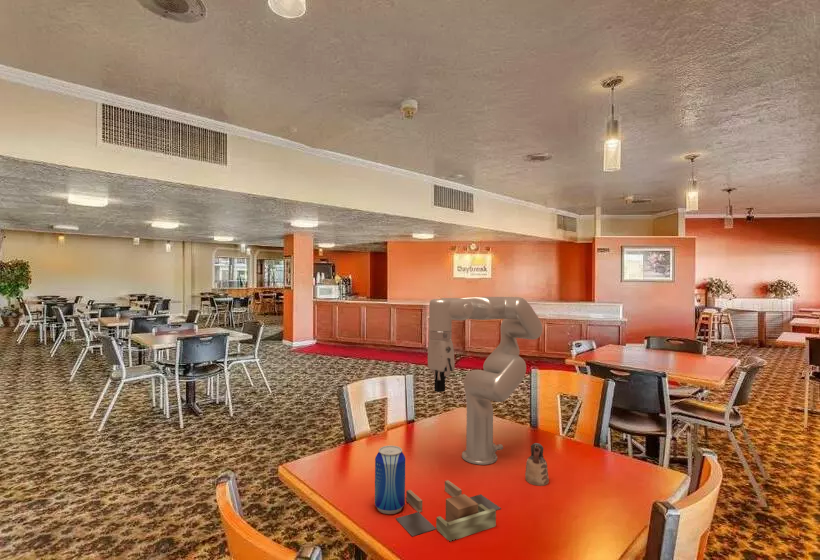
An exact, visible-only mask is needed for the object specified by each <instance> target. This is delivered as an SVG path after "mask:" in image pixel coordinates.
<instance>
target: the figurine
mask: <svg viewBox="0 0 820 560" xmlns="http://www.w3.org/2000/svg"><path fill="white" fill-rule="evenodd" d="M548 470H549V469H548V462H547V460H546V459H545V458H544V446H543V445H542V444H541V443H538V442H535V443H532V444H530V456H528V458H527V460H526V462H525V474H524V475H525V481H526V482H527V483H529V484H530V485H533V486H538V487H543V486H544V487H546V486H547V485H548V484H549V482H550V481H549V479H550V477H549V471H548Z"/></svg>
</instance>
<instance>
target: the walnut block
mask: <svg viewBox="0 0 820 560" xmlns="http://www.w3.org/2000/svg"><path fill="white" fill-rule="evenodd" d="M476 513H478V504H477V503H476V502H475V501H473V500H472V499H471V498H469V496H468V495H466V494H465V493H463V494H462V495H459V496H455V497H452V496H451V497H448V498H446V499H445V521H446V522H451V521H454V520H457V519H460V518H463V517H467V516H470V515H473V514H476Z"/></svg>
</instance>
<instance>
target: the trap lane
mask: <svg viewBox="0 0 820 560" xmlns="http://www.w3.org/2000/svg"><path fill="white" fill-rule="evenodd" d="M444 492H446V493H447V494H448V495H449V496H451V497H455V496H459V495H462V493H463V492H462V489H461V488H460V487H458V486H457V485H455V483H453V482H451V481H450V480H448V479H446V480H444ZM468 497H469V496H468ZM469 498H471V499H472V500H473V501H475V502H476V503H477V504H478V513H476V514H473V515H470V516H467V517H463V518H460V519H457V520H454V521H451V522H446V519H444V518H443V517H442V516H440V515H439V516H436V519H435V520H436V521H435V523H436V524H435V526H436V527H435V526H434V525H433V524H432V523H431V522H430V521H429V520H428V519H427V518H426V517H425V516H424V515H423V514H422V513H421V512H423V499H421V498H420V497H419V495H417V494H416V493H414V491H412V489H408V490H407V489H406V490H405V502H407V503H408V504H409V505H410V506H411V507H412V508H413V509H414V510H415V511H416V512H414V513H409V514H406V515H402V516H400V517H396V518H395V520H396V521H397V522H398V524H400V525H401V527H402V528H404V530H405V531H406V532H407V534H409V535H410V536H411V537H416V536H419V535H423V534H426V533H429V532H431V531H435V530H436V529H437V530H436V531H438V532H439V533H440V535H442V536H443V538H445V539H446V540H447V541H448V540H449V541H450V542H453V541H456V540H459V539H462V538H465V537H467V536H470V535H474V534H477V533H480V532H482V531H486V530H489V529H492V528H495V527H496V526H497V511H499V510H502V508H501V507H500V506H499V505H498V504H496V503H495V502H493V501H492V500H489V498H487V497H486V496H484V495H483V494H477V495H476V494H475V495H474V496H470V497H469ZM455 539H456V540H455ZM452 540H453V541H452ZM449 541H448V542H449Z"/></svg>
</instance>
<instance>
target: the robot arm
mask: <svg viewBox="0 0 820 560" xmlns="http://www.w3.org/2000/svg"><path fill="white" fill-rule="evenodd" d="M428 306H429V307H428V308H429V310H428V313H429V315H428V347H427V367H428V368H429V370H430V372H432V374H433V375H432V376H433V379H434V381H433V382H434V389H433V390H434V392H435V393H442V392H445V391H446V380H447V377H448V376H451V372H453V371H454V370H455V353H454V352H455V350H454V344H453V340H452V338H453V337H452V335H453V333H452V329H453V325H452V322H453V321H466V320H468V319H469V320H476V321H480V320H481V321H488V320H489V321H490V320H502V321H501V323H500V342H499V344H497V347H495V349H494V350H493V351H492V352H491V353H490V354H489V355H488V356H487V358H486V359H485V360H484V362H483V366H482V367H483V370H482V369H472V370H470V371H468V372H467V373H466V375H465V376H464V380H463V387H464V393H465V399H466V426H465V427H466V428H465V429H466V436H465V437H466V439H465V441H466V442H465V443H466V444H465V445H466V449H465V450H463V451H462V452H461V458H462V459H463V460H464V461H465V462H467V463H470V464H473V465H481V466H482V465H484V466H485V465H492V464H494V463H496V462H497V461H498V454H496V452H498V451H502V450H503V449H504V446H503V444H501V443H500V444H496V443H494V407H493V404H492V402H496V403H503V402H505V401H506V400H507V399H509V398H510V397H511V395H512V394H513V393H514V392H515V390H516V389H517V388H518V387H519V386H520V384H521V383H522V381H523V380H524V378H525V376H526V372H527V364H526V361H525V360H524V359H523V358H522V357H521V356H520V353H521V352H520V347H519V344H518V340H517V339H521V340H522V339H523V340H537V339H539V338H541V336H542V334H543V324H542V321H541V319H540V318H539V316H538V315H537V313H536V311H535V310H534V309H533V307H532V306H531V304H530V303H529V302H528V301H527V300H526V299H524V297H519V296H518V297H517V296H474V297H473V296H472V297H441V298H434V299H433V298H432V299H431V300H430V301H429V305H428Z"/></svg>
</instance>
